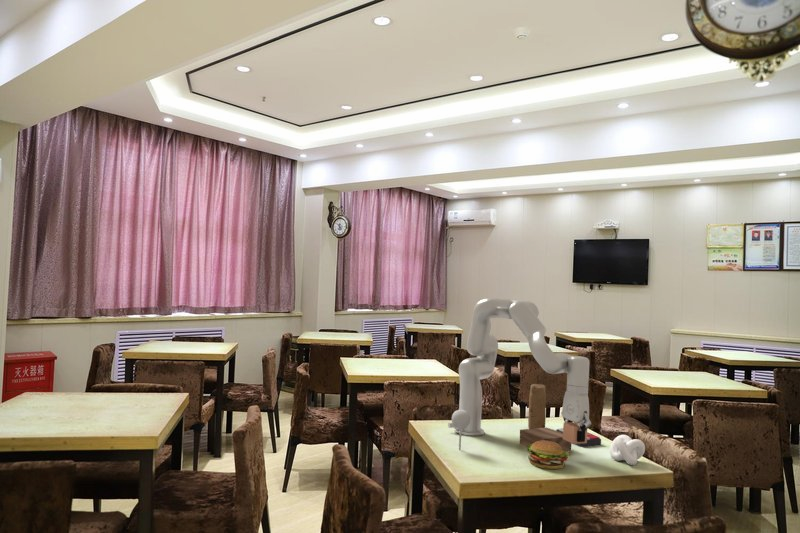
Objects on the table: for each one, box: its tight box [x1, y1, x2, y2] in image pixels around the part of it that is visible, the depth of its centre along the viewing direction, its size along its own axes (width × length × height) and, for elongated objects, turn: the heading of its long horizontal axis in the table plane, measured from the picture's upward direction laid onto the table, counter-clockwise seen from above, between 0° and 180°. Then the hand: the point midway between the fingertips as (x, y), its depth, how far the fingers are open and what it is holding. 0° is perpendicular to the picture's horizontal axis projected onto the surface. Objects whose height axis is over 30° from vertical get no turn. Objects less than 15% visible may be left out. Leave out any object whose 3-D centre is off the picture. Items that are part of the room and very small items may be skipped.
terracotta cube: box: [562, 422, 588, 445], centre depth 191 cm, size 6×6×6 cm
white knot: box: [609, 434, 646, 466], centre depth 192 cm, size 11×12×9 cm
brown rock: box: [527, 383, 547, 429], centre depth 234 cm, size 11×8×20 cm
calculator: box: [555, 427, 602, 448], centre depth 217 cm, size 11×4×15 cm
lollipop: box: [451, 409, 470, 451], centre depth 196 cm, size 7×7×15 cm
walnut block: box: [519, 426, 573, 452], centre depth 205 cm, size 14×14×6 cm
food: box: [527, 440, 570, 470], centre depth 183 cm, size 14×14×8 cm
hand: (574, 438), depth 191 cm, fingers closed on terracotta cube, 6 cm apart
